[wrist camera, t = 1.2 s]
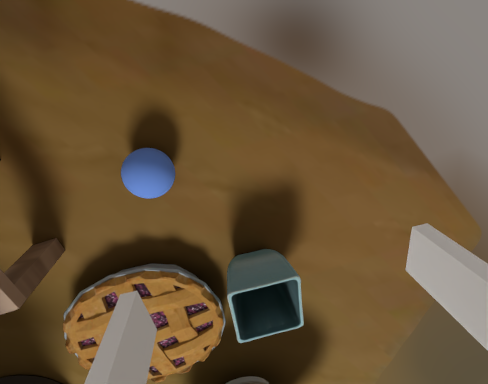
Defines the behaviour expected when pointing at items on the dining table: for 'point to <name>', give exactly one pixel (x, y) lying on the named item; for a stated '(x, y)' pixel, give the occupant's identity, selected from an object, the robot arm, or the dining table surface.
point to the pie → (160, 310)
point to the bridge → (27, 274)
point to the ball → (148, 173)
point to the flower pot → (263, 295)
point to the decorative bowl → (248, 380)
